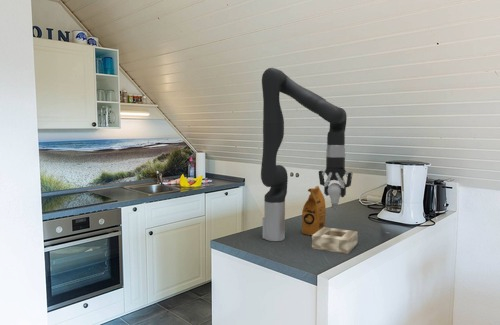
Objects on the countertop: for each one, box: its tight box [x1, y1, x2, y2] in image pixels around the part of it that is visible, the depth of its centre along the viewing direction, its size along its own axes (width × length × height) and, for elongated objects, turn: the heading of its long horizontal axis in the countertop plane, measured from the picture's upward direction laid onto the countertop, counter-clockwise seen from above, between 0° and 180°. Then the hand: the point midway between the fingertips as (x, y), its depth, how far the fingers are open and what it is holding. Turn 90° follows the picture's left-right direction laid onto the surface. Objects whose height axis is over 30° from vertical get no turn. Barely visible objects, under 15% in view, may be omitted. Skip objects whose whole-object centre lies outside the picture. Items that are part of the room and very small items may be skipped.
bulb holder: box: [311, 226, 359, 255], centre depth 155 cm, size 15×15×6 cm
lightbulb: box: [327, 182, 342, 210], centre depth 153 cm, size 6×6×11 cm
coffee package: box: [301, 185, 327, 236], centre depth 175 cm, size 10×12×22 cm
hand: (334, 196), depth 152 cm, fingers closed on lightbulb, 6 cm apart
